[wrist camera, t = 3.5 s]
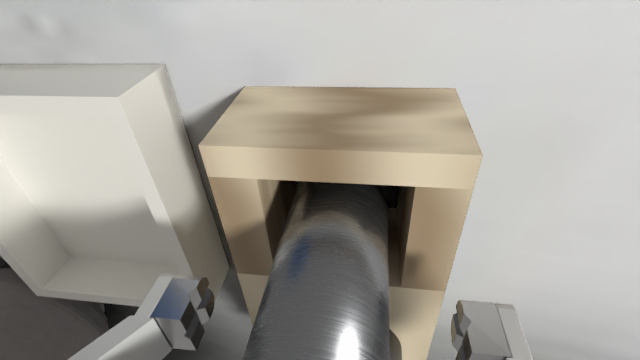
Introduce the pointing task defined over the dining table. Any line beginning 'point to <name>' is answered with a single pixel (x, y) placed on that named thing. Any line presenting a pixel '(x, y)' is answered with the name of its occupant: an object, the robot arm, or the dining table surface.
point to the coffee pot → (44, 322)
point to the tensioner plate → (349, 167)
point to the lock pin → (328, 278)
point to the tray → (100, 183)
